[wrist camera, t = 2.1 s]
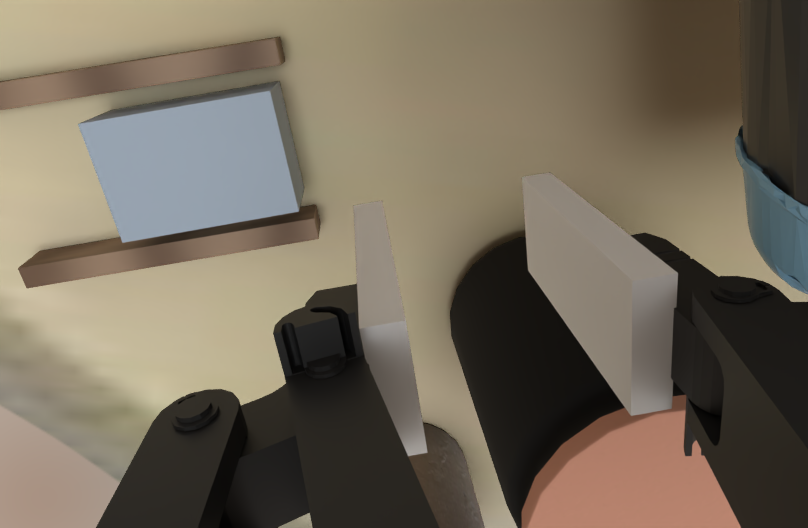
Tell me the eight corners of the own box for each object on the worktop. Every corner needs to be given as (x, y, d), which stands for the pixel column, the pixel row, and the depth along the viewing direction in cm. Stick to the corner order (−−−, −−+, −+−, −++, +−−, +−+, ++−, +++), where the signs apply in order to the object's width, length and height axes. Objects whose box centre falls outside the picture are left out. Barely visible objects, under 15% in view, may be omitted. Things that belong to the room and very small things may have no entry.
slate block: (279, 80, 32) (269, 90, 28) (304, 187, 34) (298, 211, 30) (112, 109, 32) (78, 124, 28) (149, 214, 34) (122, 242, 30)
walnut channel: (280, 36, 31) (274, 38, 28) (320, 223, 35) (318, 238, 33) (-31, 86, 30) (-62, 92, 28) (48, 269, 34) (26, 288, 32)
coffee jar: (439, 374, 40) (505, 631, 23) (455, 224, 36) (550, 407, 19) (591, 375, 41) (757, 621, 25) (624, 230, 37) (850, 407, 20)
